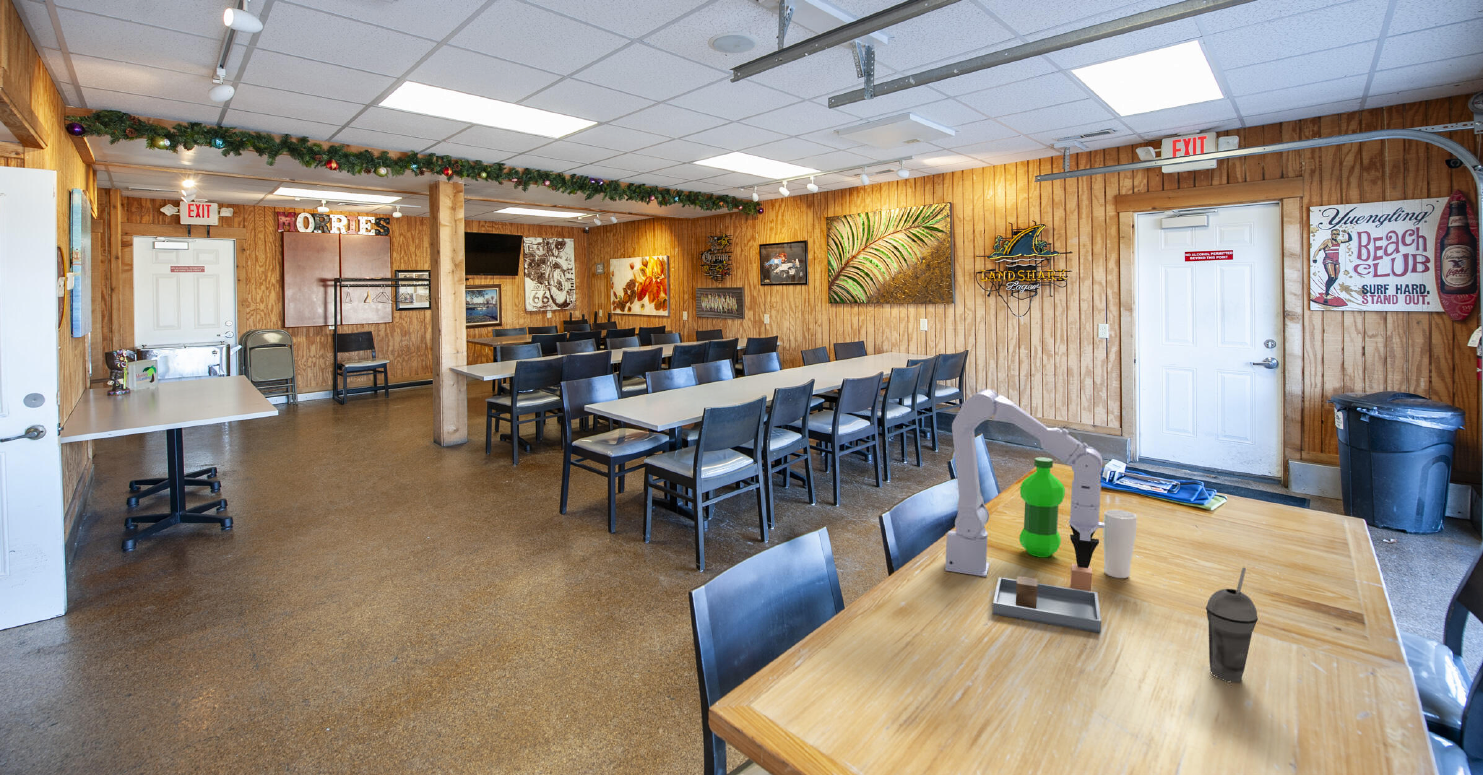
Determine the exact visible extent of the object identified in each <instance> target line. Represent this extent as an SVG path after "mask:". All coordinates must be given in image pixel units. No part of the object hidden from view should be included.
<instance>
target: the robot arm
mask: <svg viewBox="0 0 1483 775" xmlns="http://www.w3.org/2000/svg"><path fill="white" fill-rule="evenodd" d="M992 416H994V417H993V421H1009V422H1010V423H1012V424H1014V425H1015V426H1017V427H1019V428H1020V429H1022V430H1023V431H1025V432H1027V433H1028V434H1030V435H1031V436H1033V437H1035V438H1036V439H1038V440H1039V441H1040V446H1041V449H1043V450H1044V451H1046V452H1047V453H1049V454H1051V456H1053V457H1055V458H1056V459H1058V460H1059V461H1061V462H1062V463H1064V464H1065V465H1067V466H1071V469H1072V471H1073V479H1072V481H1071V496H1070V515H1069V520H1068V523H1069V527H1070V529H1071V531H1072V533H1071V534H1069V538H1070V541H1071V544H1072V545H1073V548H1074V552H1075V560H1076V564H1077V566H1078V567H1081V568H1088V567H1089V566H1090V564H1091V561H1092V558H1093V554H1094V552H1095V550H1096V548H1097V547H1098V545H1099V543H1100V539H1099V538H1093V536H1094V535H1095V532H1096V531H1097V530H1098V529H1100V528H1101V529H1103V528H1105V523H1103V522H1104V521H1100V510H1101V507H1100V506H1101V494H1102V493H1101V492H1102V491H1101V490H1102V484H1101V479H1102V476H1101V473H1102V472H1103V457H1102V455H1101V453H1100V452H1099V451H1097V450H1096V448H1095V447H1092V446H1089V445H1088V444H1087V443H1086V442H1083V443H1082V442H1081V441H1079V440H1078V439H1076V438H1075V437H1073V436H1071V435H1070V434H1069V430H1068V429H1066V428H1063V429H1061V428H1059V427H1051V428H1049V427H1048V426H1046V425H1045V424H1043V423H1042V422H1040V421H1039V420H1038V419H1036V418H1035V417H1034V416H1032V415H1031V414H1029V413H1028V412H1027V411H1026V410H1024V409H1022V408H1021V407H1020V406H1019V405H1017V404H1016V403H1015V402H1013V401H1011V400H1010V399H1008V398H1006V396H1003V395H1001V394H998V393H997V392H996V391H995V390H993V389H988V388H985V389H981V390H979V391H978V392H976V393H974V394H973V395H972V396H970V397H969V398H968V399H965V401H964V402H963V403H962V404H961V407H960V409H959V410H958V412H957V414H956V416H955V418H954V419H953V422H952V423H951V430H952V439H953V442H952V443H953V449H954V460H955V468H956V477H957V478H956V480H957V488H958V502H957V508H956V509H957V515H956V518H955V520H954V526H955V529H956V530H948V532H947V536H946V546H945V568H944V569H945V571H946V572H953V573H954V572H955V573H960V574H966V575H972V576H980V577H987V575H988V571H989V567H990V563H989V562H987V560H988V559H987V554H988V531H987V530H986V527H985V525H986V524H987V523H988V521H989V519H990V514H989V511H988V509H987V507H986V505H985V502H984V497H983V495H982V492H981V485H980V475H979V465H978V457H977V456H978V455H977V446H976V437H975V436H976V435H975V429H976V428H977V427H978V426H980V425H981V423H983V422H985V421H988V420H989V419H990V418H991V417H992Z"/></svg>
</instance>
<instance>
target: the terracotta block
mask: <svg viewBox="0 0 1483 775" xmlns="http://www.w3.org/2000/svg"><path fill="white" fill-rule="evenodd" d="M1092 577H1093V570H1092V566H1090V565H1089V567H1088V568H1081V567H1078V566H1077V563H1071V568H1070V588H1072V589H1078V590H1085V591H1091V592H1092V582H1093V581H1092V579H1093V578H1092Z"/></svg>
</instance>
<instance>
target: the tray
mask: <svg viewBox="0 0 1483 775" xmlns="http://www.w3.org/2000/svg"><path fill="white" fill-rule="evenodd" d="M1016 588H1017V579H1013V578H1007V577H1001V576H999V577H998V578H997V582H996V588H995V592H994V597H993V602H992V615H995V616H996V615H997V616H1003V617H1006V618H1007V617H1008V618H1012V619H1013V618H1014V619H1018V620H1024V621H1030V622H1035V623H1041V624H1045V625H1052V626H1057V627H1062V628H1063V627H1064V628H1069V629H1075V630H1081V631H1085V632H1090V633H1097V634H1101V632H1102V631H1101V630H1102V629H1101V628H1102V618H1101V610H1100V602H1099V601H1100V600H1099V594H1098V591H1097V592H1096V591H1092V590H1091V591H1085V590H1078V589H1072V588H1071V587H1066V586H1058V585H1051V584H1046V583H1039V582H1038V585H1037V604H1036V609H1034V608H1028V607H1022V606H1016Z"/></svg>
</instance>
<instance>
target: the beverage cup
mask: <svg viewBox="0 0 1483 775" xmlns="http://www.w3.org/2000/svg"><path fill="white" fill-rule="evenodd" d="M1246 571H1247V568H1246V567H1242V568H1241V573H1240V576H1239V579H1238V580H1239V581H1238V584H1237V588H1236V589H1234V588H1223V589H1219V590H1217V591H1215V592H1213V593H1212V595H1210V597H1209V598H1208V601H1207V604H1206V606H1205V610H1206V618H1207V621H1208V659H1209V660H1208V662H1209V663H1208V664H1209V671H1211V672H1212V674H1213V675H1215V676H1217V677H1218V678H1221V679H1224V680H1226V681H1225V682H1227V681H1231V682H1230V683H1235V682H1236V683H1240V682H1242V680H1243V675H1244V672H1245V668H1246V663H1247V660H1248V654H1249V650H1250V645H1251V639H1252V635H1253V632H1254V630H1255V628H1256V624H1257V622H1258V619H1259V617H1258V611H1257V608H1256V606H1255V604H1254V602H1253V601H1252V600H1251V598H1250V597H1249V596H1248V595H1246V594H1245V593H1243V592H1242V591H1241V590H1242V587H1243V582H1244V579H1245V574H1246ZM1211 672H1210V673H1211ZM1212 674H1211V675H1212ZM1213 675H1212V676H1213ZM1215 676H1214V677H1215ZM1218 678H1217V679H1218ZM1221 679H1220V680H1221ZM1224 680H1223V681H1224ZM1239 681H1240V682H1239Z"/></svg>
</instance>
